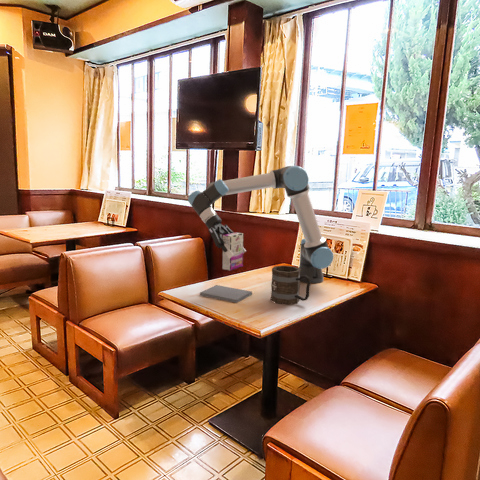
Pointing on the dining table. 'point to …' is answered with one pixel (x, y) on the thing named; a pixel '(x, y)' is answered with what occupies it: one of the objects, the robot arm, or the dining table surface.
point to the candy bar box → (233, 251)
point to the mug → (287, 285)
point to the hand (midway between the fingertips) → (238, 254)
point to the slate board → (226, 293)
